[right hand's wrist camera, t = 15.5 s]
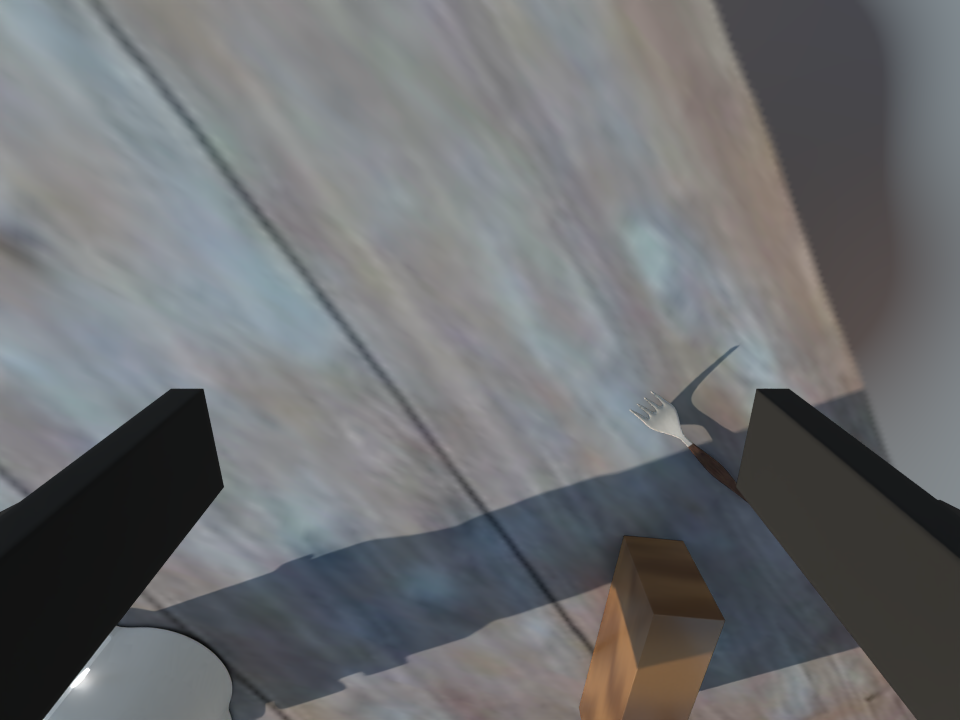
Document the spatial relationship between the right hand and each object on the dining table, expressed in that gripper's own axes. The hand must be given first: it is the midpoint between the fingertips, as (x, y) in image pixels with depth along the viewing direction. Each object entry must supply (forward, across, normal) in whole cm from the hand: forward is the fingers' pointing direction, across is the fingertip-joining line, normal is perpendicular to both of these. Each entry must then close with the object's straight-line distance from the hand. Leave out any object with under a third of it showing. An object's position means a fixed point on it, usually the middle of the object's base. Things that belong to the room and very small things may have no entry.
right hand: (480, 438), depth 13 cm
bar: (+27, +14, -37) cm, 48 cm away
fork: (+27, +18, -16) cm, 37 cm away
